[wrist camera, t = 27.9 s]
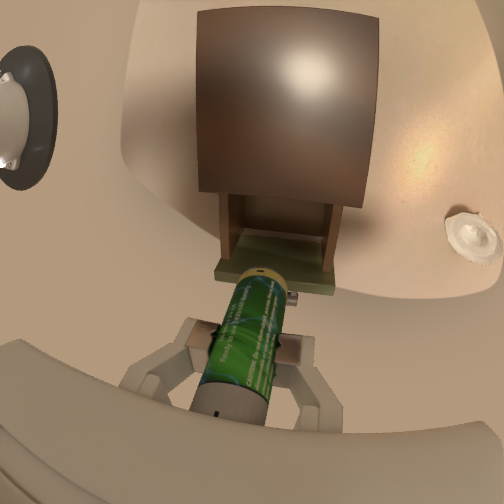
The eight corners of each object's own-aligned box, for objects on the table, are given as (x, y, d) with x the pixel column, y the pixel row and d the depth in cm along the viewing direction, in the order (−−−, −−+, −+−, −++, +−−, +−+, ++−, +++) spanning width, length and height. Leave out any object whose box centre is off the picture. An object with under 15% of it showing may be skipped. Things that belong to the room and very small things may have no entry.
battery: (264, 255, 14) (205, 447, 6) (299, 290, 15) (271, 473, 7) (228, 281, 15) (159, 447, 7) (262, 311, 16) (218, 473, 8)
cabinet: (347, 174, 28) (362, 208, 20) (230, 163, 30) (198, 192, 22) (357, 41, 20) (379, 17, 12) (231, 34, 22) (197, 11, 14)
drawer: (324, 281, 34) (324, 327, 28) (234, 270, 36) (217, 312, 29) (347, 136, 25) (360, 150, 18) (233, 126, 27) (207, 137, 20)
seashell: (461, 217, 30) (498, 259, 25) (439, 238, 30) (476, 283, 26) (475, 179, 23) (521, 227, 19) (451, 202, 24) (499, 255, 19)
